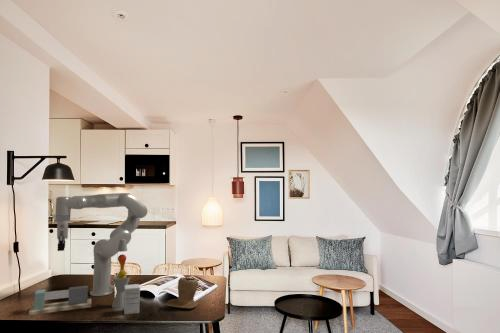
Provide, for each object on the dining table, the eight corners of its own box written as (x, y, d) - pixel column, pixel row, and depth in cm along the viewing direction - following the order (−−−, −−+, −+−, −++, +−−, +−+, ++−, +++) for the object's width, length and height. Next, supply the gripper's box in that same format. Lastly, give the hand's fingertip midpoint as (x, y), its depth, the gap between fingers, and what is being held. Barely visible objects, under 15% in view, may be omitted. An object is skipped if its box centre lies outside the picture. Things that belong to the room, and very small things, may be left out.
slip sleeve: (87, 300, 184) (87, 285, 185) (87, 303, 180) (88, 287, 181) (68, 302, 180) (69, 287, 181) (68, 305, 176) (68, 289, 177)
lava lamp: (109, 304, 182) (112, 238, 185) (127, 301, 187) (129, 237, 190) (113, 309, 175) (115, 240, 178) (131, 306, 180) (133, 239, 183)
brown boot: (201, 304, 183) (202, 276, 185) (191, 311, 172) (191, 281, 173) (176, 301, 188) (177, 274, 189) (165, 308, 177) (165, 279, 178)
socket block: (44, 305, 176) (45, 289, 177) (43, 309, 170) (44, 292, 171) (35, 306, 175) (36, 290, 175) (33, 310, 168) (34, 293, 169)
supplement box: (123, 310, 174) (124, 284, 175) (138, 308, 177) (139, 283, 178) (123, 314, 167) (124, 288, 168) (139, 313, 170) (140, 287, 171)
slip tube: (76, 294, 181) (76, 288, 182) (76, 296, 179) (76, 290, 179) (41, 298, 174) (41, 292, 175) (40, 300, 171) (40, 294, 172)
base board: (91, 301, 187) (91, 298, 187) (91, 306, 178) (91, 304, 179) (31, 308, 175) (31, 305, 175) (28, 315, 166) (28, 312, 166)
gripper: (69, 219, 185) (68, 251, 184) (70, 217, 200) (69, 246, 199) (54, 219, 182) (52, 252, 180) (56, 217, 197) (54, 247, 196)
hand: (61, 249), depth 190 cm, fingers open, 9 cm apart
